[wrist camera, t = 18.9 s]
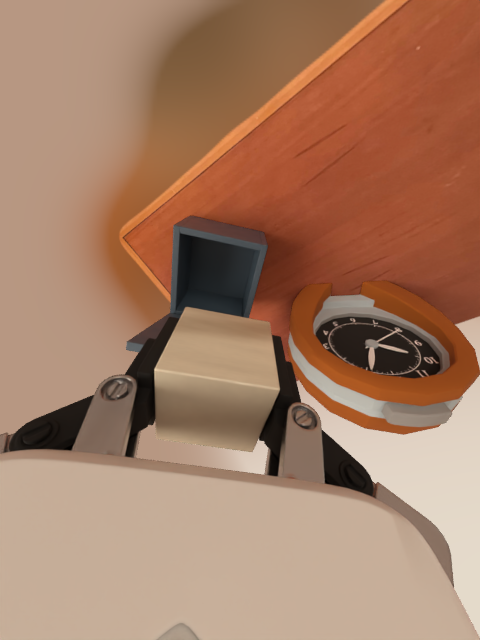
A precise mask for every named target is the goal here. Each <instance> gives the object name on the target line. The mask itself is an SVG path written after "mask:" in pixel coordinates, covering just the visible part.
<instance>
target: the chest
mask: <svg viewBox="0 0 480 640" xmlns="http://www.w3.org/2000/svg"><path fill="white" fill-rule="evenodd" d="M267 248H268V245H267V241H266V238H265V235H264V232H261V231H257V230H252V229H248V228H244V227H239V226H235V225H230V224H226V223H221V222H217V221H213V220H208V219H204V218H199V217H195V216H189V217H187V218H185V219H183V220H182V221H180V222H178V223H177V224H175V225H174V228H173V254H172V281H171V309H170V310H171V311H170V313H172V314H177V315H182V313H183V311H184V309H185V307H191V308H196V309H202V310H207V311H213V312H218V313H223V314H229V315H234V316H240V317H245V318H249V315H250V312H251V308H252V304H253V300H254V297H255V293H256V289H257V286H258V282H259V278H260V274H261V271H262V267H263V263H264V259H265V256H266V252H267Z"/></svg>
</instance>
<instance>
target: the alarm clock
mask: <svg viewBox="0 0 480 640" xmlns="http://www.w3.org/2000/svg"><path fill="white" fill-rule="evenodd" d="M331 289H332V283H323V284H309V285H307V286H306V287H305V288H304V289H303V290H301V291H300V293H299V294H298V296H297V297H296V299H295V300H294V302H293V304H292V308H291V315H290V323H289V330H290V335H289V341H288V355H289V359H290V362H291V363H292V366H293V370H294V373H295V374H296V376H297V377H298V379H299V380H300V382H301V383H302V385H303V387H304V388H305V390H306V391H307V392H308V393H309V394H310V395H312V396H313V397H314V398H315V399H316V400H317V401H318V402H319V403H321V404H322V405H323V406H324V407H325V408H326V409H327V410H329V411H330V412H332V413H334V414H336V415H338V416H340V417H342V418H344V419H347V420H348V421H351V422H353V423H355V424H357V425H359V426H361V427H364V428H367V429H373V430H379V431H386V432H391V433H397V434H408V433H413V432H418V431H422V430H427V429H432V428H436V427H439V426H440V425H441V424H443V423H446V422H447V421H448V419H449V418H450V417H451V415H452V411H453V410H454V409H455V407H456V406H457V405H458V403H459V402H460V400H461V399H462V395H463V394H464V393H465V391H466V390H467V389H468V388H469V387H470V386H471V385H472V384H473V383H474V381H475V380H476V379H477V377H478V376H479V375H480V370H479V365H478V361H477V357H476V353H475V349H474V348H473V347H472V345H471V344H470V343H469V341H468V340H467V339H466V337H465V336H464V335H463V333H462V332H461V331H460V330H459V328H457V327H456V326H455V325H454V324H453V323H452V322H451V321H450V320H449V319H448V318H447V317H446V316H445V315H444V314H442V313H441V312H440V311H439V310H438V309H436V308H435V307H433V306H432V305H430V304H429V303H427V302H426V301H425V300H423V299H422V298H420V297H419V296H417V295H415V294H413V293H411V292H409V291H407V290H405V289H404V288H402V287H400V286H398V285H395V284H393V283H391V282H388V281H366V282H363V284H362V288H361V292H360V295H346V296H330V295H331Z"/></svg>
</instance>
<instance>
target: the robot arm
mask: <svg viewBox="0 0 480 640" xmlns="http://www.w3.org/2000/svg"><path fill="white" fill-rule="evenodd" d="M179 319H180V318H175V317H169V318H168V320H167V321H166V323H165V325H164V326H163V328H162V330H161V331H160V333H159V335H158V337H157V338H156V339H153V338H148V339H147V341H146V342H145V344H144V345H143V347H142V349H141V350H140V352H139V353H138V355H137V356H136V358H135V359H134V361H133V362H132V364H131V366H130V367H129V369H128V370H127V372H126V374H125V375H115V376H112V377H109V378H107V379H106V380H104V381H103V382H102V383H101V384H100V385H99V386H98V388H97V390H96V392H95V395H92V396H90V397H87V398H85V399H83V400H80V401H78V402H75V403H73V404H70V405H68V406H66V407H63V408H61V409H58V410H56V411H53V412H51V413H48V414H46V415H44V416H41V417H39V418H36V419H34V420H32V421H30V422H28V423H26V424H25V425H24V426H22V427H21V428H20V429H19V430H18V431H17V432H16V433H14V434H11V435H8V433H4V434H1V435H0V640H480V638H479V636H478V634H477V632H476V630H475V628H474V626H473V624H472V622H471V620H470V618H469V616H468V614H467V613H466V610H465V608H464V607H463V605H462V603H461V601H460V599H459V597H458V595H457V593H456V591H455V590H454V583H453V572H452V562H451V553H450V549H449V546H448V544H447V542H446V540H445V538H444V536H443V535H442V533H441V532H440V531H439V529H438V528H437V527H436V526H435V525H434V524H433V523H432V522H431V521H429V520H428V519H427V518H425V517H424V516H423V515H422V514H420V513H419V512H417V511H416V510H415V509H413V508H412V507H411V506H409V505H408V504H407V503H405V502H404V501H403V500H401V499H400V498H399V497H397V496H396V495H395V494H393V493H392V492H391V491H389V490H388V489H387V488H385V487H384V486H383V485H381V484H380V483H379V482H377V483H376V484H375V483H374V482H373V481H372V480H371V477H370V475H369V474H368V472H367V471H366V469H365V468H364V467H363V466H362V465H361V464H360V463H359V462H358V461H356V460H355V459H354V458H353V457H352V456H351V455H350V454H348V452H346V451H345V450H344V449H343V448H342V447H341V446H340V445H339V444H337V443H336V442H335V441H334V440H333V439H332V438H331V437H329V436H328V435H327V434H326V433H325V432H324V431H323V430H322V429H321V421H320V417H319V415H318V414H317V412H316V411H315V410H314V409H313V408H312V407H310V406H309V405H307V404H304V403H301V399H300V395H299V391H298V387H297V383H296V378H295V374H294V370H293V366H292V363H291V362H287V361H286V360H285V355H284V350H283V345H282V341H281V337H280V336H274V335H272V340H273V346H274V353H275V360H276V366H277V373H278V379H279V386H280V391H279V393H278V396H277V398H276V400H275V402H274V405H273V407H272V409H271V411H270V414H269V416H268V418H267V420H266V423H265V425H264V427H263V429H262V432H261V434H260V436H259V440H260V441H264V442H265V444H266V445H267V447H268V448H269V449H268V455H267V461H266V468H265V475H261V474H254V473H247V472H239V471H231V470H224V469H216V468H209V467H201V466H193V465H185V464H178V463H170V462H162V461H154V460H146V459H137V458H136V455H137V450H138V444H139V438H140V433H141V430H143V429H144V428H146V427H147V426H148V425H153V423H154V421H155V380H154V369H155V367H156V365H157V363H158V361H159V359H160V357H161V355H162V353H163V351H164V349H165V347H166V345H167V343H168V341H169V339H170V337H171V335H172V333H173V331H174V329H175V327H176V325H177V323H178V321H179Z"/></svg>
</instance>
